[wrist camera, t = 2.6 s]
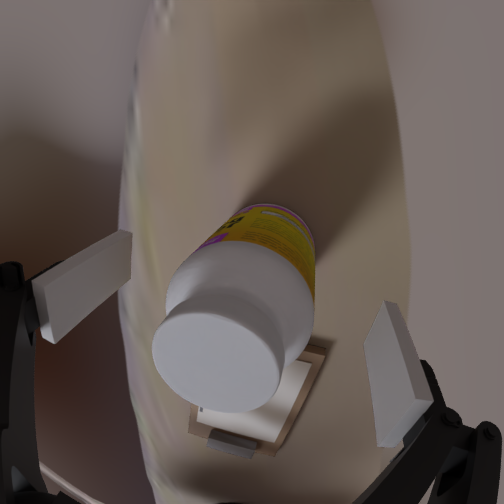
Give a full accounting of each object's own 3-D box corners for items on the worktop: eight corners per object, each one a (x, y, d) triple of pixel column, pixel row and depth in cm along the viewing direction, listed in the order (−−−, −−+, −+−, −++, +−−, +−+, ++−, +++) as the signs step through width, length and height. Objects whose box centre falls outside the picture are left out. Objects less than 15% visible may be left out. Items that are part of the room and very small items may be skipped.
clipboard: (275, 449, 29) (272, 464, 27) (190, 426, 30) (184, 440, 28) (325, 348, 24) (325, 365, 22) (206, 316, 25) (197, 331, 23)
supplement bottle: (255, 182, 20) (175, 235, 8) (334, 240, 21) (356, 362, 9) (205, 256, 23) (108, 363, 11) (277, 307, 23) (241, 447, 11)
